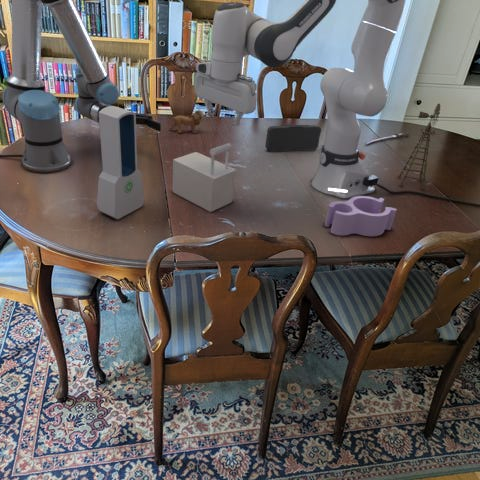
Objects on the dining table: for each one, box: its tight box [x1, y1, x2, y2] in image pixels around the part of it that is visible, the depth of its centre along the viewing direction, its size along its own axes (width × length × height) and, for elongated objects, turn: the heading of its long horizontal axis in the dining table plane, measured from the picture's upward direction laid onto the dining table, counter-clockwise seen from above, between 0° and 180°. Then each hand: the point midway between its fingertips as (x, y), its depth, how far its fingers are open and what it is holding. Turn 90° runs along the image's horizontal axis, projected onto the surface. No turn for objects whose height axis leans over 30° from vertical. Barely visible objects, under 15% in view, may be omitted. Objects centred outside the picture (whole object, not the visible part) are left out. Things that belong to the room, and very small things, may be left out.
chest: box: [172, 162, 236, 213], centre depth 147 cm, size 17×10×10 cm, turn 50°
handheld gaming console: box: [264, 124, 322, 152], centre depth 189 cm, size 23×3×10 cm, turn 108°
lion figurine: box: [168, 109, 204, 134], centre depth 195 cm, size 15×5×9 cm, turn 110°
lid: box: [172, 142, 237, 183], centre depth 142 cm, size 18×10×9 cm, turn 50°
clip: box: [324, 195, 398, 237], centre depth 141 cm, size 20×12×7 cm, turn 109°
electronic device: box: [96, 105, 145, 220], centre depth 130 cm, size 12×8×30 cm, turn 148°
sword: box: [366, 133, 410, 146], centre depth 213 cm, size 31×3×1 cm, turn 126°
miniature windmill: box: [398, 102, 441, 191], centre depth 166 cm, size 9×8×30 cm
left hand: (144, 132), depth 159 cm, fingers open, 13 cm apart
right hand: (222, 120), depth 132 cm, fingers open, 8 cm apart
